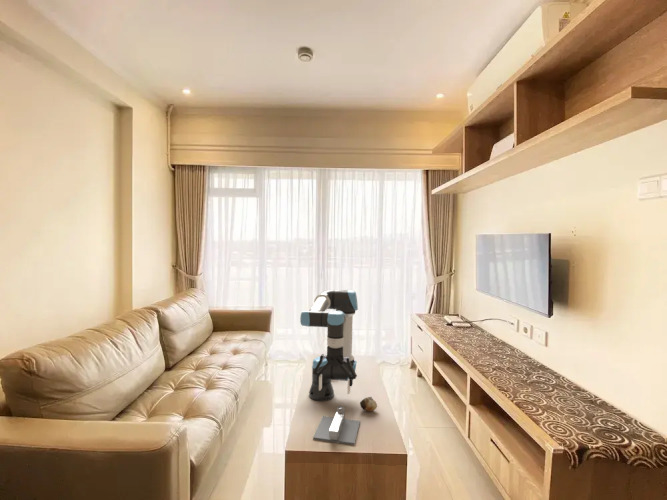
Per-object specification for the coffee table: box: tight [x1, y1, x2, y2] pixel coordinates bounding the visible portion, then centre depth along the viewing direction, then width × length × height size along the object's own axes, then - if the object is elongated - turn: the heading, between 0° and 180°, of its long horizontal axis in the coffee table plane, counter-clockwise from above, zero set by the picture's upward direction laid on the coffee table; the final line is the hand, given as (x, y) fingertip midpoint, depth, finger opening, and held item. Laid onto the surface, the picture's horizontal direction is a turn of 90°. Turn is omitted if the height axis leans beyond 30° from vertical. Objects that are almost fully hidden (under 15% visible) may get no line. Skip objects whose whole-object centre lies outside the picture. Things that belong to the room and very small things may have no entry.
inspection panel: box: [312, 415, 361, 446], centre depth 171 cm, size 20×20×1 cm
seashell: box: [359, 396, 378, 412], centre depth 191 cm, size 10×6×8 cm, turn 87°
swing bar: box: [329, 405, 346, 440], centre depth 170 cm, size 21×4×6 cm, turn 168°
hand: (334, 391), depth 159 cm, fingers open, 13 cm apart
